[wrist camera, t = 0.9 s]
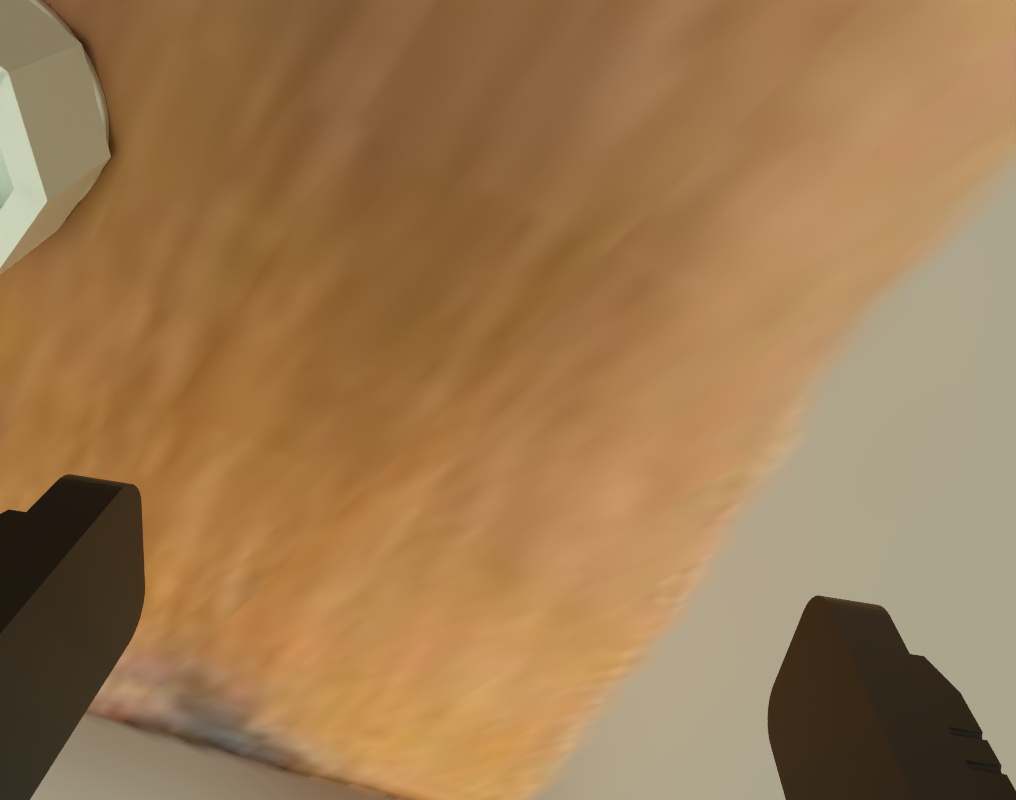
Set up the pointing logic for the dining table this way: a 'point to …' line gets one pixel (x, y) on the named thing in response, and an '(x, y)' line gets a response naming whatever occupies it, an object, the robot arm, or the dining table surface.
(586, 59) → the dining table surface
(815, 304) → the dining table surface
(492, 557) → the dining table surface
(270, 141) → the dining table surface
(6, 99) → the bowl
